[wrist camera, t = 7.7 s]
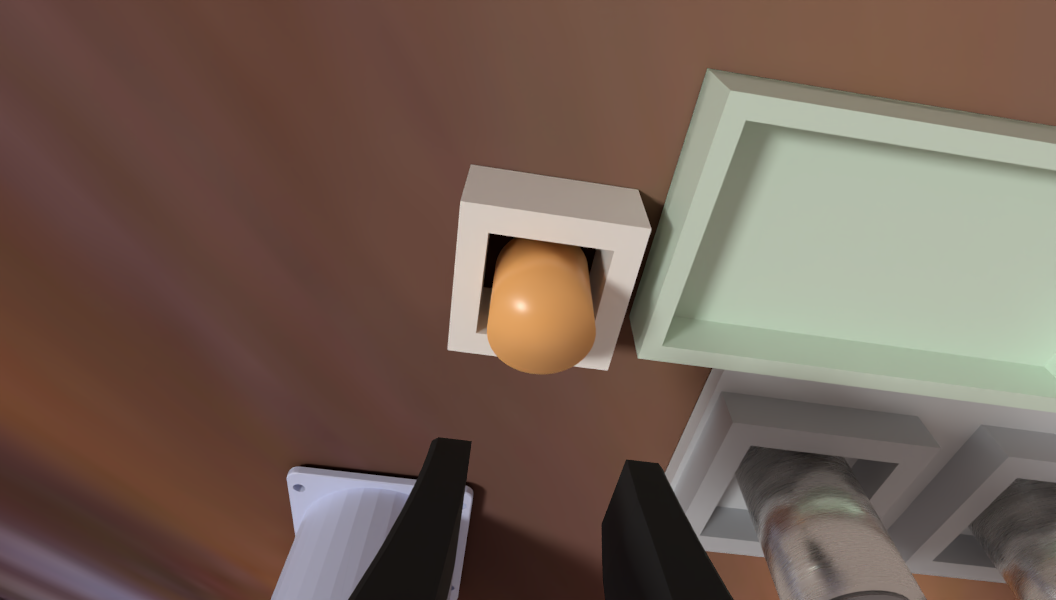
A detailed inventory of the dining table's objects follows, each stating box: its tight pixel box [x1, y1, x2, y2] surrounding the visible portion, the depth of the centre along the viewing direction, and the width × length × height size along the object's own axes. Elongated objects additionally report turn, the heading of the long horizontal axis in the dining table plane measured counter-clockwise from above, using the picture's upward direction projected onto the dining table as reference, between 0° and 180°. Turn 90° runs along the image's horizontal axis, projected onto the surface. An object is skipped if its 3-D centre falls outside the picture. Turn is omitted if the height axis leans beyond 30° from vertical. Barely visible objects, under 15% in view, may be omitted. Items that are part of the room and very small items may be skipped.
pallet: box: [665, 368, 1056, 583], centre depth 23 cm, size 10×18×2 cm, turn 81°
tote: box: [629, 68, 1056, 413], centre depth 17 cm, size 8×15×2 cm, turn 81°
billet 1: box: [735, 446, 926, 600], centre depth 20 cm, size 4×4×6 cm
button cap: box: [487, 237, 596, 374], centre depth 16 cm, size 3×3×3 cm
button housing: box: [448, 165, 651, 371], centre depth 17 cm, size 5×5×2 cm
